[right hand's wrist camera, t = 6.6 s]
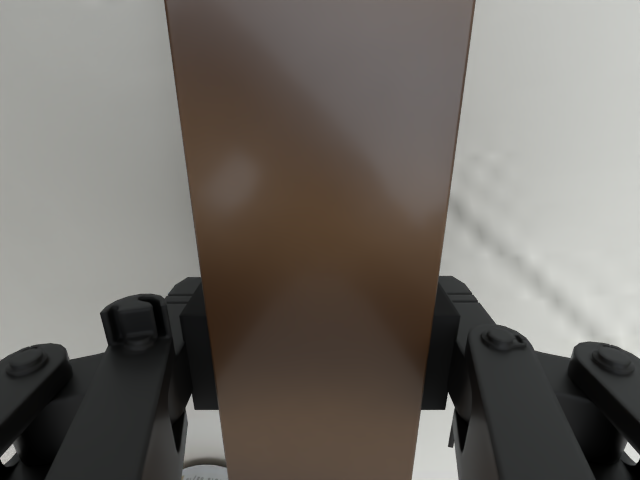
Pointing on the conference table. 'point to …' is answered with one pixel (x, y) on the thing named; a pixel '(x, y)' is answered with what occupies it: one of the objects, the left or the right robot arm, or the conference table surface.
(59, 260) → the conference table surface
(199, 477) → the pill bottle
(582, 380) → the right robot arm
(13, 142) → the conference table surface
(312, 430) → the bar
